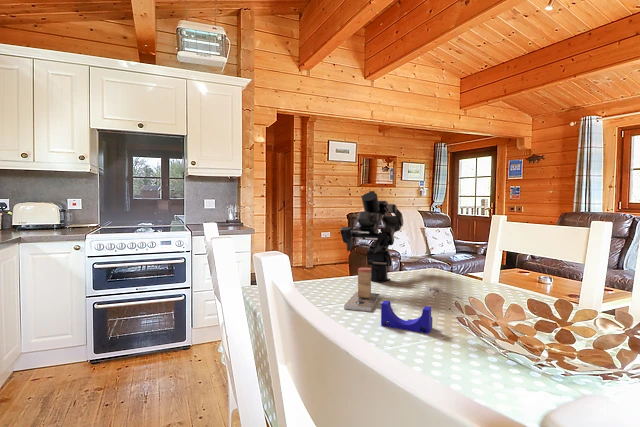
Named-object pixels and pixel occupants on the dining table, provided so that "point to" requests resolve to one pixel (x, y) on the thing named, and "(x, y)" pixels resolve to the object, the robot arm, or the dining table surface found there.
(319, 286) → the dining table surface
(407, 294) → the dining table surface
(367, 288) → the marker post
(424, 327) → the blue cradle bracket
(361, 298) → the flange plate
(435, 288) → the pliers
